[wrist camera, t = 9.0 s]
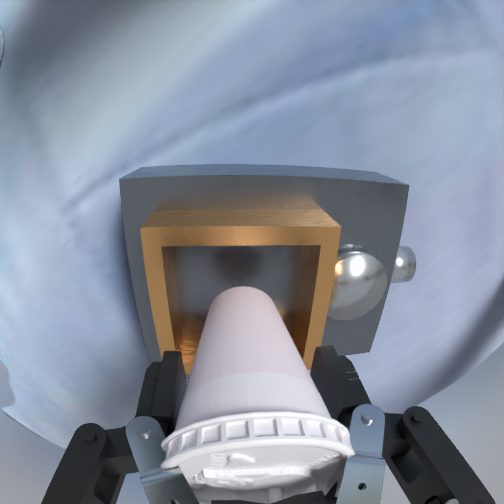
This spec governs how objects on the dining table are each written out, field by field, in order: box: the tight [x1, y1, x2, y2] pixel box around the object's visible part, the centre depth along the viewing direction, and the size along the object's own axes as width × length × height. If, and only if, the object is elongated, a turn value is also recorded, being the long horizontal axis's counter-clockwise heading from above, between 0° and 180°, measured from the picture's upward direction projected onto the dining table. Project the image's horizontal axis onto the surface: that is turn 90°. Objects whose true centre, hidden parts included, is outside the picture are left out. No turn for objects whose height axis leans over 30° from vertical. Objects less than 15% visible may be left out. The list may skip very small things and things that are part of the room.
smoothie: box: [160, 286, 355, 504], centre depth 9 cm, size 6×6×14 cm
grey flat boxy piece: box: [119, 164, 416, 375], centre depth 20 cm, size 21×14×8 cm, turn 88°
